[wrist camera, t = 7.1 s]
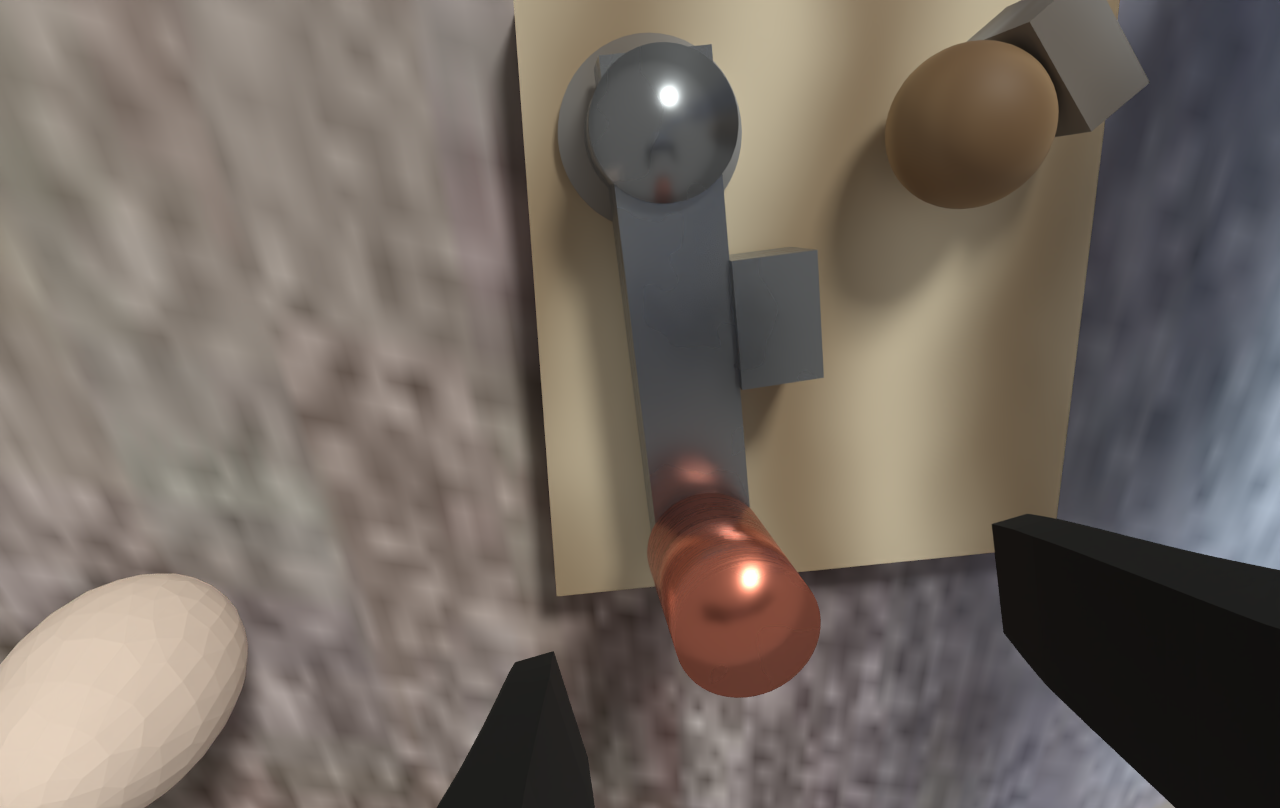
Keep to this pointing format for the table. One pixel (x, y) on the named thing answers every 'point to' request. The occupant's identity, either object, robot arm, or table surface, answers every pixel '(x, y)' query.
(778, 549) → the lever
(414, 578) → the table surface
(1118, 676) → the robot arm
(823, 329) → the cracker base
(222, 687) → the egg
